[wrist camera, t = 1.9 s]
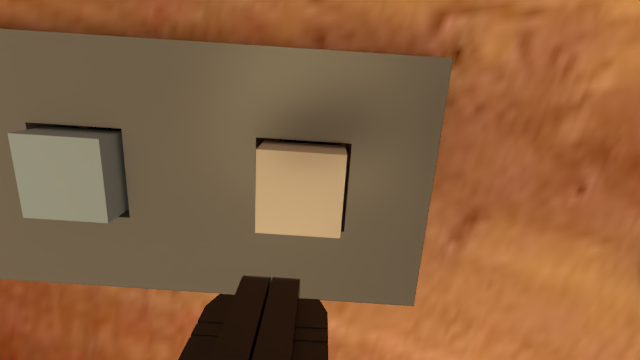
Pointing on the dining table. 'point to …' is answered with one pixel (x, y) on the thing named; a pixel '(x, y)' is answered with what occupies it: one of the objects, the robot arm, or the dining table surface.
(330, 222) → the tan square block
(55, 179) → the gray key
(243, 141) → the key panel
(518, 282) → the dining table surface
